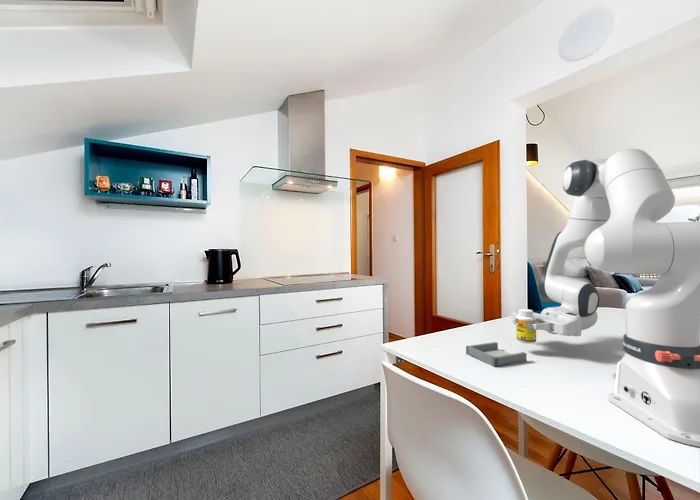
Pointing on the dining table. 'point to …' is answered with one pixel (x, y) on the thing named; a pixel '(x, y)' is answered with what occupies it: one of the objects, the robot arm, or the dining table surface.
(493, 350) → the tray
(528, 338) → the supplement bottle
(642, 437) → the dining table surface
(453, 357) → the dining table surface
